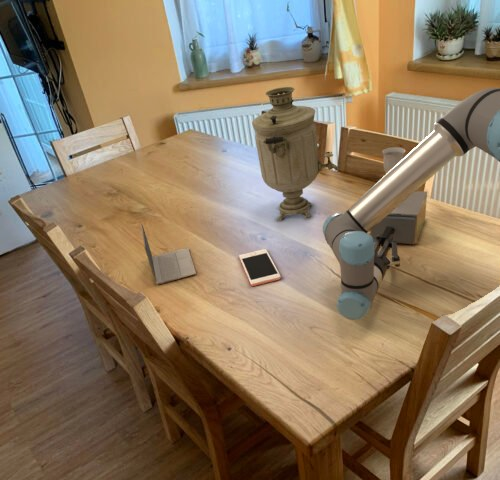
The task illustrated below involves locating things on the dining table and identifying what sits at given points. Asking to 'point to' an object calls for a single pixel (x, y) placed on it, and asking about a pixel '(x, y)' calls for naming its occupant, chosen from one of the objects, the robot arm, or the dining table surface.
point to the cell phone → (259, 267)
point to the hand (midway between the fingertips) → (389, 230)
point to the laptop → (169, 263)
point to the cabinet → (413, 211)
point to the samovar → (288, 150)
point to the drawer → (396, 228)
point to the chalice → (392, 157)
